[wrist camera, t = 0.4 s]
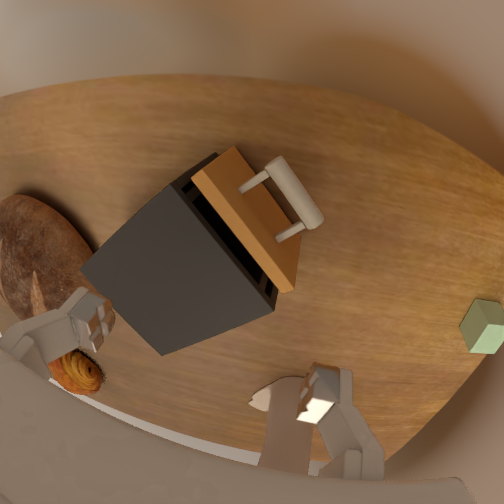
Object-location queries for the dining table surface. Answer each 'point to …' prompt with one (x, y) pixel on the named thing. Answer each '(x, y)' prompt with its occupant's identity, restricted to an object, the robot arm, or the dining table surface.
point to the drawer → (255, 215)
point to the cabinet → (176, 273)
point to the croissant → (76, 373)
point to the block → (483, 327)
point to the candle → (284, 427)
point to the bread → (38, 257)
